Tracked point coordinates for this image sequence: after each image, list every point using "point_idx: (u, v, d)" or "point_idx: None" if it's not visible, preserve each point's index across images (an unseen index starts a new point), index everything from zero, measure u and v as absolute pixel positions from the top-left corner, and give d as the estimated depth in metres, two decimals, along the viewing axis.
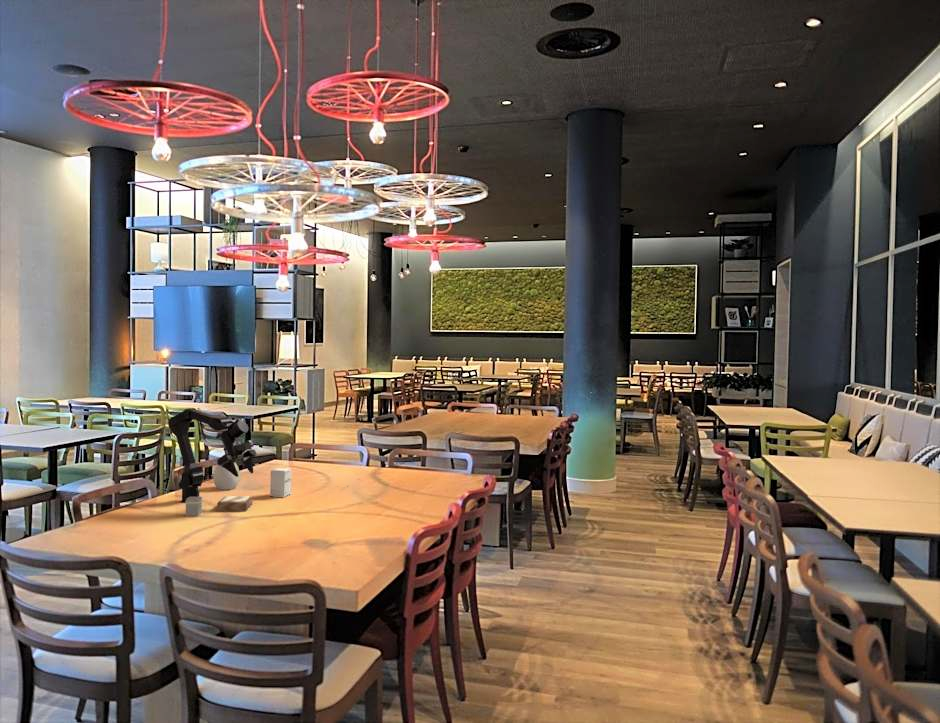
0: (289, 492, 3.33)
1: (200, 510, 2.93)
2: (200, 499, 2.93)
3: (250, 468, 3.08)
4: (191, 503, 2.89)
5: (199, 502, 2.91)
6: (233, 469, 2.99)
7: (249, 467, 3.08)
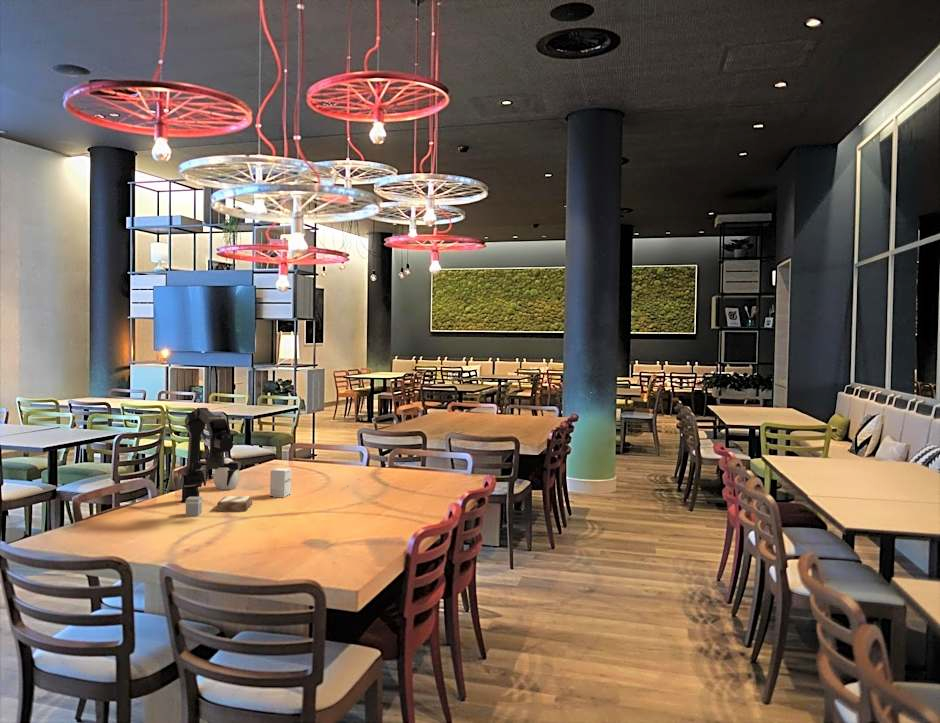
0: (289, 492, 3.33)
1: (200, 510, 2.93)
2: (200, 499, 2.93)
3: None
4: (191, 503, 2.89)
5: (199, 502, 2.91)
6: None
7: None
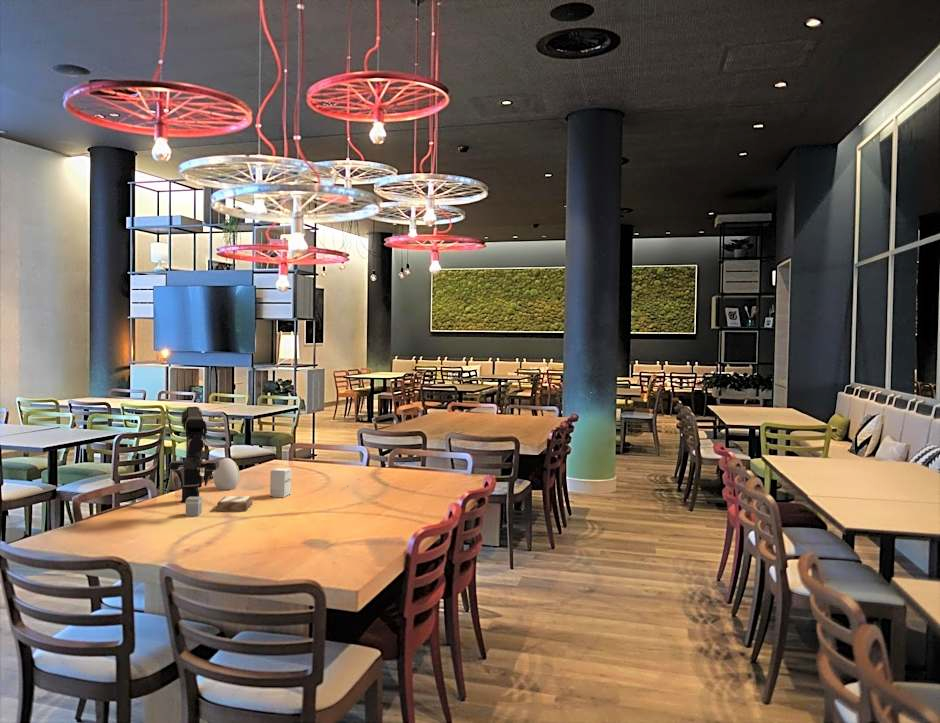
0: (289, 492, 3.33)
1: (200, 510, 2.93)
2: (200, 499, 2.93)
3: None
4: (191, 503, 2.89)
5: (199, 502, 2.91)
6: None
7: None
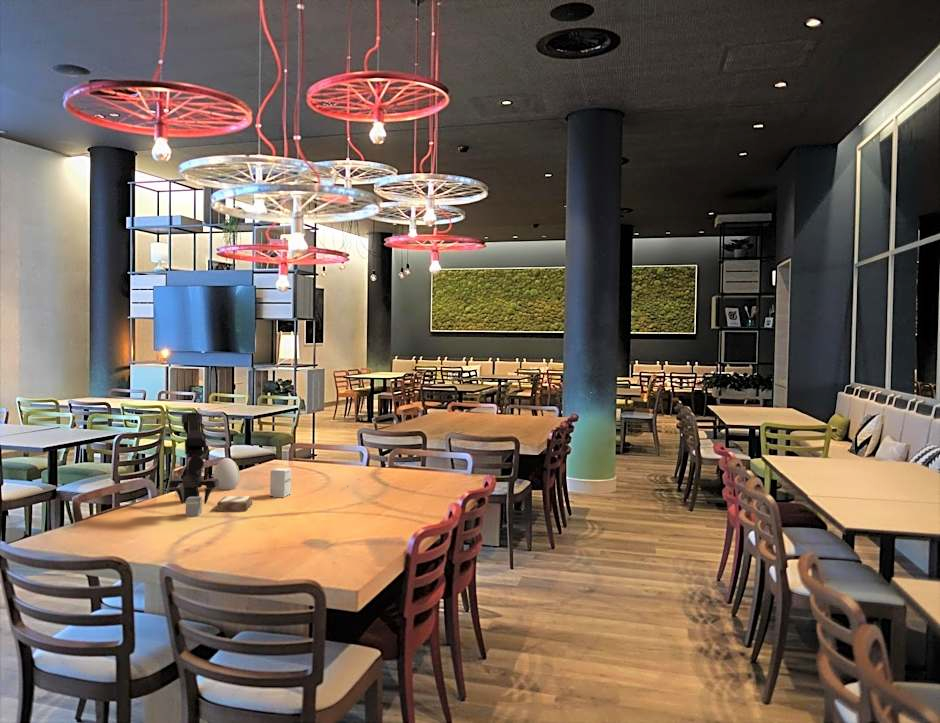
0: (289, 492, 3.33)
1: (200, 510, 2.93)
2: (200, 499, 2.93)
3: None
4: (191, 503, 2.89)
5: (199, 502, 2.91)
6: None
7: None
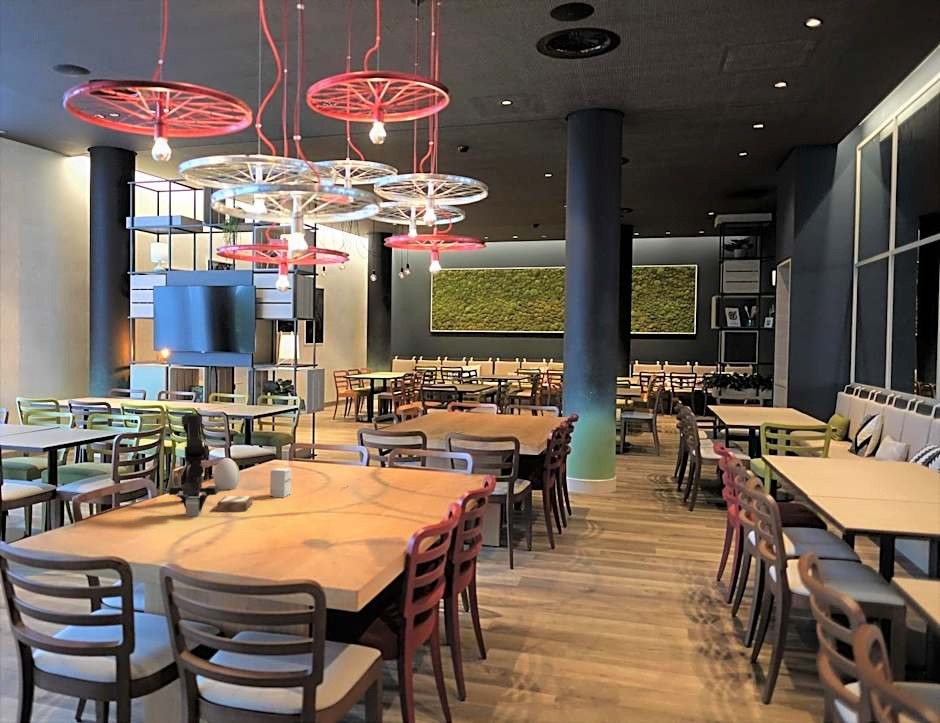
0: (289, 492, 3.33)
1: None
2: None
3: None
4: (191, 503, 2.89)
5: (199, 502, 2.91)
6: None
7: None
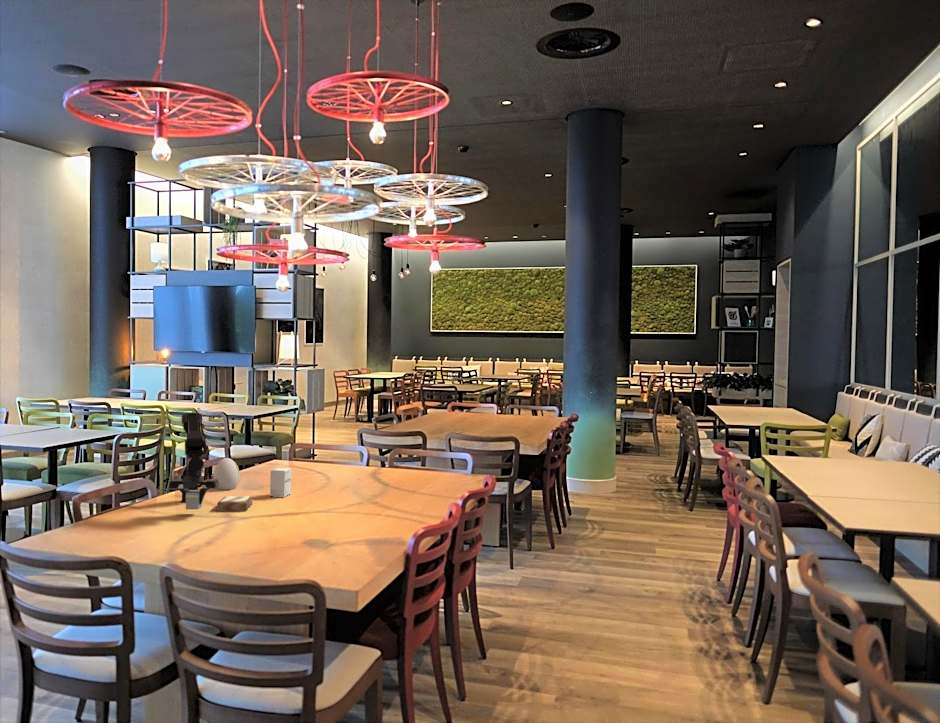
0: (289, 492, 3.33)
1: None
2: None
3: None
4: (191, 496, 2.89)
5: (199, 495, 2.91)
6: None
7: None
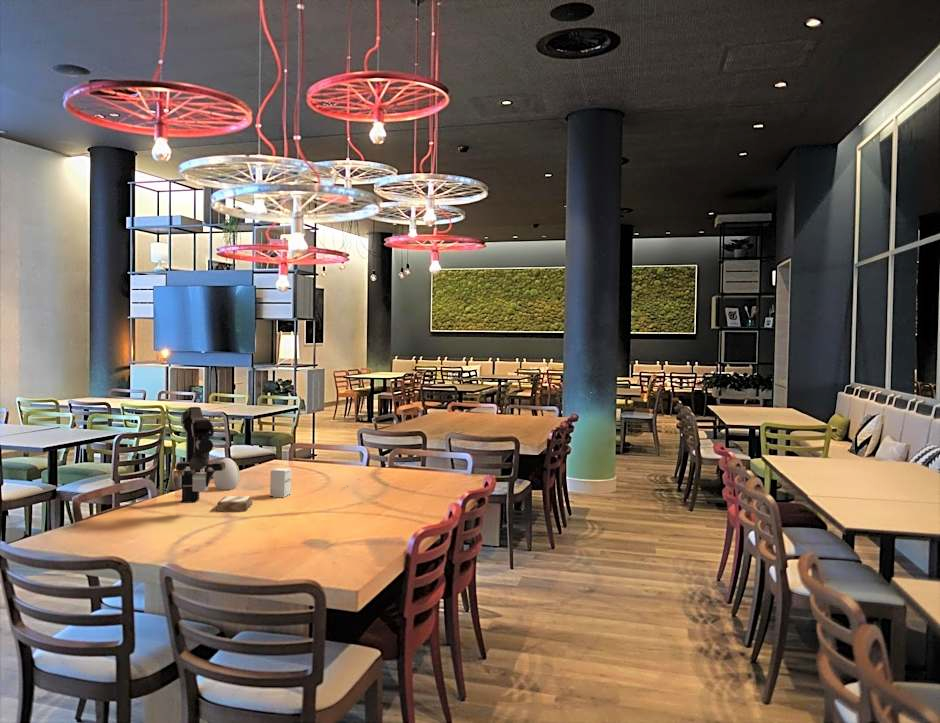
0: (289, 492, 3.33)
1: None
2: None
3: None
4: (198, 478, 2.91)
5: (206, 478, 2.93)
6: None
7: None
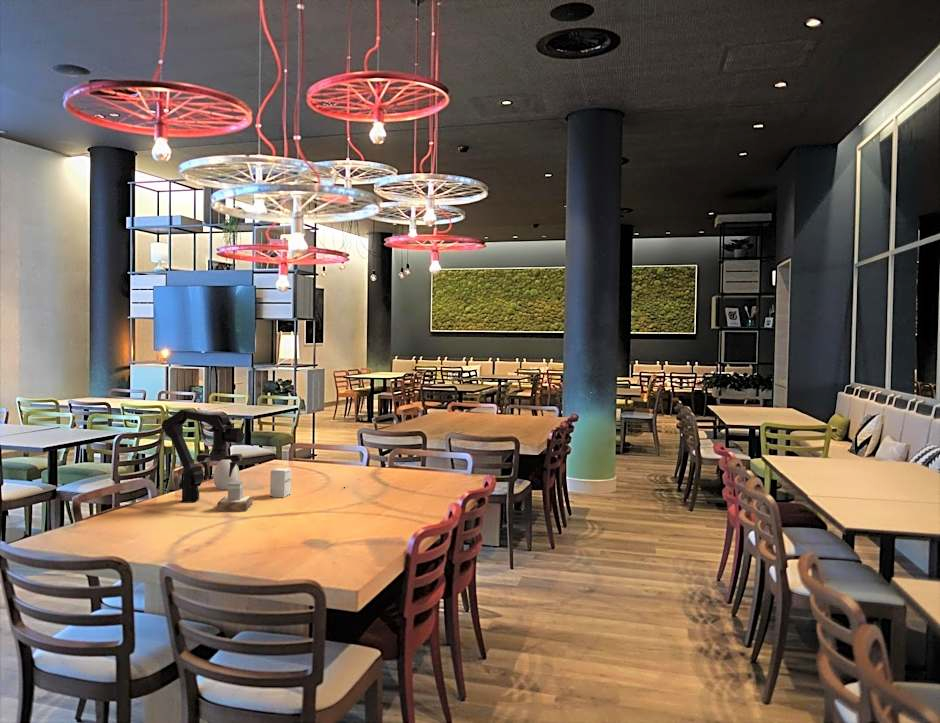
0: (289, 492, 3.33)
1: (241, 495, 3.06)
2: (241, 484, 3.06)
3: None
4: (233, 487, 3.03)
5: (240, 487, 3.04)
6: None
7: None
